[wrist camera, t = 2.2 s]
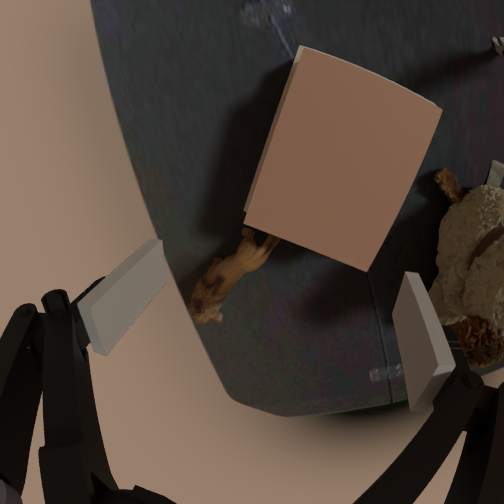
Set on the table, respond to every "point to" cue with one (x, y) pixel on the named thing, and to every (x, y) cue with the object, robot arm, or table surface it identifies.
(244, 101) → the table surface
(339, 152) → the stacked block pedestal
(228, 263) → the lion figurine
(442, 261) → the dog
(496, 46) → the human figurine
